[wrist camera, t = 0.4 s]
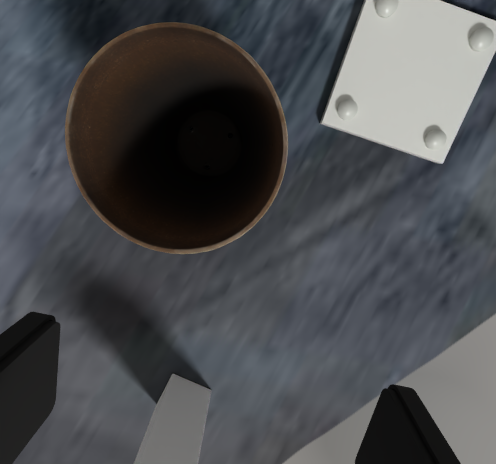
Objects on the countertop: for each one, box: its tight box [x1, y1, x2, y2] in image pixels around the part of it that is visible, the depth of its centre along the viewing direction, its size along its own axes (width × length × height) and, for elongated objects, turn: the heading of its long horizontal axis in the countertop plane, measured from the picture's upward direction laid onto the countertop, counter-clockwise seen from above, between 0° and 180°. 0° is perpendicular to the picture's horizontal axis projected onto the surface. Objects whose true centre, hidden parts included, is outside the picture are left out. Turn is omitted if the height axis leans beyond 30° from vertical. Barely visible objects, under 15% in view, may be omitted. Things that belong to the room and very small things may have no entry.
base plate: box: [320, 0, 496, 164], centre depth 34 cm, size 14×14×2 cm
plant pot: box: [65, 22, 288, 254], centre depth 30 cm, size 15×15×16 cm
